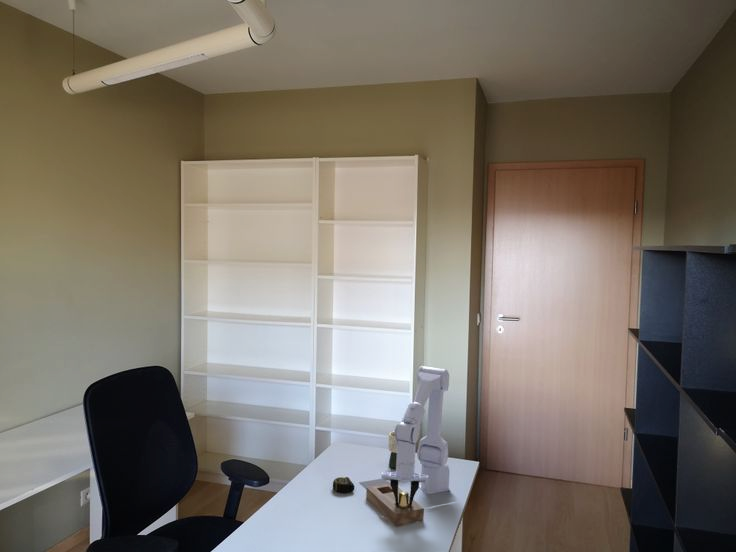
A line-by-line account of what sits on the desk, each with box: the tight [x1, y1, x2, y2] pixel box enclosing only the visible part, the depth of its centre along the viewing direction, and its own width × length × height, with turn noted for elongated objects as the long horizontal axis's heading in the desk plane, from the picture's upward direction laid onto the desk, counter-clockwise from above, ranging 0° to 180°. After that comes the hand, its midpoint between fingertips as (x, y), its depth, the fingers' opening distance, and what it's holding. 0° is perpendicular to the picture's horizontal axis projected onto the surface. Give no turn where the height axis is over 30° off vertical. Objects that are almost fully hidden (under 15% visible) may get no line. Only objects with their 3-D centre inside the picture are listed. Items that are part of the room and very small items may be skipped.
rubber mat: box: [358, 478, 390, 491], centre depth 203 cm, size 10×10×1 cm
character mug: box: [388, 430, 397, 470], centre depth 221 cm, size 11×7×13 cm, turn 144°
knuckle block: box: [365, 484, 425, 528], centre depth 187 cm, size 10×20×4 cm, turn 27°
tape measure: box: [332, 476, 355, 494], centre depth 199 cm, size 7×7×4 cm
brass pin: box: [399, 490, 410, 510], centre depth 181 cm, size 3×3×8 cm
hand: (403, 503), depth 181 cm, fingers open, 4 cm apart
